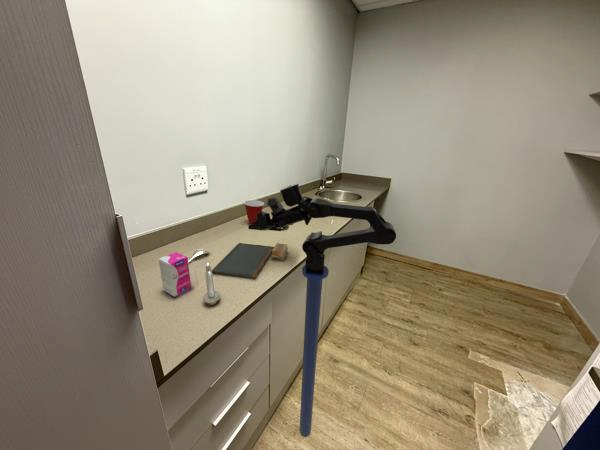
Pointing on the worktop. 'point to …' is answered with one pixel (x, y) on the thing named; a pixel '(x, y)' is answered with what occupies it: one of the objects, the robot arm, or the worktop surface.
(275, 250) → the wooden block
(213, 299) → the screw
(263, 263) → the chalkboard
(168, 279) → the supplement box
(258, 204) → the plastic cup
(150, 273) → the worktop surface
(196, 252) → the metal serving spoon
